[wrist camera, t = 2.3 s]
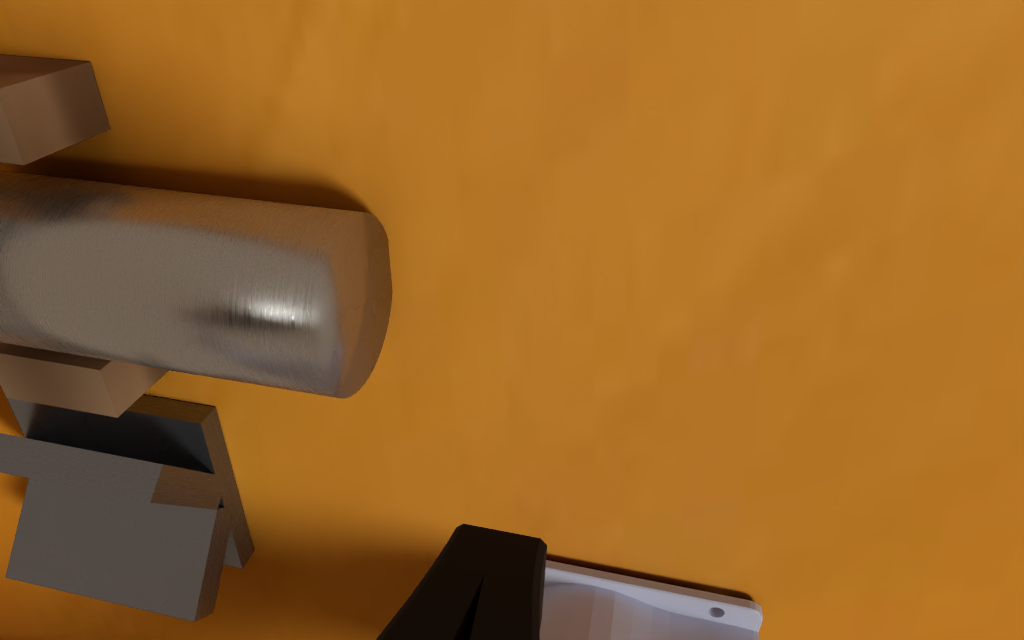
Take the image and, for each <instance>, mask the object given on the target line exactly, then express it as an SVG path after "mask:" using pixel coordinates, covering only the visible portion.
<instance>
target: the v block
mask: <svg viewBox="0 0 1024 640" xmlns="http://www.w3.org/2000/svg"><path fill="white" fill-rule="evenodd" d="M7 400H8V402H9V404H10V406H11V408H12V410H13V412H14V415H15V417H16V419H17V421H18V423H19V425H20V427H21V429H22V431H23V434H24V436H25V438H23V437H18V436H13V435H7V434H2V433H0V472H2V473H6V474H11V475H16V476H21V477H26V478H29V481H28V485H27V489H26V493H25V497H24V502H23V506H22V510H21V514H20V518H19V523H18V527H17V531H16V535H15V539H14V544H13V548H12V552H11V556H10V560H9V565H8V569H7V573H6V577H5V578H10V579H14V580H18V581H22V582H27V583H31V584H35V585H39V586H44V587H48V588H52V589H56V590H61V591H65V592H69V593H73V594H78V595H82V596H86V597H90V598H95V599H99V600H103V601H107V602H112V603H116V604H120V605H124V606H129V607H133V608H137V609H142V610H146V611H150V612H154V613H159V614H163V615H167V616H171V617H176V618H180V619H184V620H188V621H193V622H195V621H197V620H199V619H201V618H204V617H206V616H208V615H210V614H212V613H213V612H214V608H215V603H216V598H217V593H218V588H219V583H220V578H221V573H222V568H223V565H228V566H232V567H237V568H241V569H243V567H244V566H245V564H246V562H247V561H248V559H249V558H250V556H251V555H252V553H253V552H254V548H253V544H252V541H251V537H250V533H249V530H248V526H247V522H246V518H245V515H244V511H243V507H242V504H241V500H240V496H239V492H238V489H237V485H236V481H235V478H234V474H233V470H232V466H231V463H230V459H229V455H228V451H227V448H226V444H225V440H224V437H223V433H222V429H221V425H220V422H219V418H218V414H217V411H216V407H211V406H205V405H199V404H194V403H188V402H182V401H176V400H171V399H165V398H159V397H153V396H148V395H142V396H141V397H140V398H138V399H137V400H136V401H135V402H134V403H133V404H132V405H131V406H130V407H129V408H128V409H127V410H125V411H124V412H123V413H122V414H121V415H120V416H119V417H118V418H116V417H111V416H105V415H100V414H94V413H89V412H83V411H78V410H72V409H67V408H61V407H56V406H50V405H45V404H39V403H34V402H28V401H23V400H17V399H12V398H7Z"/></svg>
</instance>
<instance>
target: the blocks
mask: <svg viewBox="0 0 1024 640" xmlns="http://www.w3.org/2000/svg"><path fill="white" fill-rule="evenodd" d="M109 129H110V127H109V124H108V120H107V117H106V114H105V110H104V107H103V103H102V100H101V96H100V93H99V90H98V86H97V83H96V79H95V76H94V73H93V69H92V66H91V62H86V61H74V60H61V59H49V58H36V57H24V56H11V55H0V163H9V164H18V165H26V164H28V163H31V162H33V161H35V160H38V159H40V158H43V157H45V156H47V155H50V154H52V153H54V152H57V151H59V150H62V149H64V148H66V147H69V146H71V145H73V144H76V143H78V142H81V141H83V140H85V139H88V138H90V137H93V136H95V135H97V134H100V133H102V132H104V131H107V130H109ZM168 371H169V370H165V369H159V368H153V367H147V366H141V365H135V364H129V363H123V362H117V361H111V360H105V359H99V358H93V357H87V356H81V355H75V354H68V353H62V352H56V351H50V350H44V349H38V348H32V347H26V346H20V345H14V344H8V343H2V342H0V385H1V387H2V389H3V391H4V394H5V396H6V398H12V399H17V400H23V401H28V402H34V403H39V404H45V405H50V406H56V407H61V408H67V409H72V410H78V411H83V412H89V413H94V414H100V415H105V416H111V417H116V418H118V417H119V416H120V415H121V414H122V413H123V412H124V411H125V410H127V409H128V408H129V407H130V406H131V405H132V404H133V403H134V402H135V401H136V400H137V399H138V398H140V397H141V396H142V395H143V394H144V393H145V392H146V391H147V390H148V389H149V388H150V387H151V386H152V385H154V384H155V383H156V382H157V381H158V380H159V379H160V378H161V377H162V376H163V375H164V374H165V373H167V372H168Z"/></svg>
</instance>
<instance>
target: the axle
mask: <svg viewBox="0 0 1024 640" xmlns="http://www.w3.org/2000/svg"><path fill="white" fill-rule="evenodd" d="M391 302H392V281H391V269H390V257H389V245H388V238H387V235H386V232H385V230H384V228H383V226H382V224H381V223H380V221H379V220H378V219H377V218H376V217H375V216H374V215H372V214H370V213H366V212H358V211H349V210H340V209H331V208H323V207H314V206H305V205H296V204H288V203H279V202H270V201H261V200H253V199H244V198H235V197H226V196H218V195H209V194H200V193H191V192H183V191H174V190H165V189H156V188H148V187H139V186H130V185H122V184H113V183H104V182H95V181H87V180H78V179H69V178H60V177H52V176H43V175H34V174H25V173H17V172H8V171H0V342H2V343H8V344H14V345H20V346H26V347H32V348H38V349H44V350H50V351H56V352H62V353H68V354H75V355H81V356H87V357H93V358H99V359H105V360H111V361H117V362H123V363H129V364H135V365H141V366H147V367H153V368H159V369H165V370H171V371H177V372H183V373H190V374H196V375H202V376H208V377H214V378H220V379H226V380H232V381H238V382H244V383H250V384H256V385H262V386H268V387H274V388H280V389H286V390H292V391H299V392H305V393H311V394H317V395H323V396H329V397H335V398H348V397H351V396H352V395H354V394H355V393H356V392H357V391H359V390H360V389H361V387H362V386H363V385H364V384H365V382H366V381H367V379H368V378H369V376H370V374H371V373H372V371H373V369H374V367H375V364H376V362H377V360H378V357H379V355H380V352H381V349H382V346H383V343H384V339H385V335H386V332H387V327H388V322H389V316H390V310H391Z"/></svg>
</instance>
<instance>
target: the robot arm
mask: <svg viewBox="0 0 1024 640" xmlns="http://www.w3.org/2000/svg"><path fill="white" fill-rule="evenodd" d="M546 553H547V545H546V544H545V543H544V542H543V541H542V540H541V539H540V538H535V537H530V536H525V535H519V534H514V533H509V532H504V531H499V530H493V529H488V528H483V527H478V526H473V525H468V524H462V525H460V526H458V527H457V528H456V529H455V531H454V533H453V534H452V536H451V537H450V539H449V541H448V542H447V544H446V546H445V547H444V549H443V550H442V552H441V553H440V555H439V556H438V558H437V559H436V561H435V562H434V564H433V565H432V567H431V568H430V569H429V571H428V572H427V574H426V575H425V577H424V578H423V579H422V581H421V582H420V583H419V585H418V586H417V587H416V589H415V590H414V592H413V593H412V594H411V596H410V597H409V598H408V600H407V601H406V602H405V604H404V605H403V606H402V607H401V609H400V610H399V611H398V613H397V614H396V615H395V616H394V618H393V619H392V620H391V621H390V623H389V624H388V625H387V627H386V628H385V629H384V630H383V632H382V633H381V634H380V635H379V637H378V638H377V639H376V640H759V633H758V632H759V629H760V626H761V623H762V621H763V616H762V608H761V607H760V605H758V604H757V603H755V602H753V601H750V600H746V599H741V598H736V597H731V596H726V595H721V594H716V593H711V592H706V591H700V590H695V589H690V588H685V587H680V586H675V585H670V584H665V583H660V582H655V581H650V580H645V579H640V578H635V577H630V576H625V575H620V574H615V573H610V572H605V571H599V570H594V569H589V568H584V567H579V566H574V565H569V564H564V563H559V562H554V561H549V560H546Z"/></svg>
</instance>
